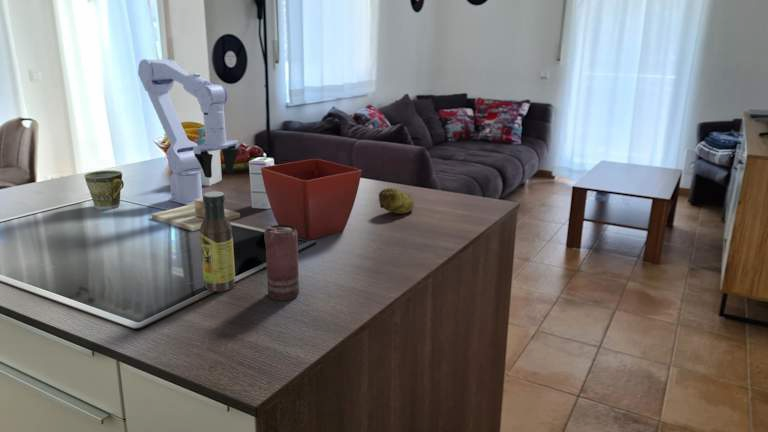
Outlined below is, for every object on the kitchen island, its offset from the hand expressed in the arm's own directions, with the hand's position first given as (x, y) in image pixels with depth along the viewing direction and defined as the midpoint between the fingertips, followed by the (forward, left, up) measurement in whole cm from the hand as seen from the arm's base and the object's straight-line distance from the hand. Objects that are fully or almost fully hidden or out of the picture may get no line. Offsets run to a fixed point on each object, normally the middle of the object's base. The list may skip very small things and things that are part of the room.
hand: (219, 174), depth 170 cm
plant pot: (+34, +2, -11) cm, 36 cm away
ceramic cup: (-27, -19, -11) cm, 34 cm away
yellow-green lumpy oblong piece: (+43, +29, -11) cm, 53 cm away
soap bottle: (-31, +18, -11) cm, 37 cm away
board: (+1, -10, -10) cm, 14 cm away
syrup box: (+7, +10, -11) cm, 16 cm away
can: (+57, -32, -11) cm, 67 cm away
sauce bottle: (+44, -37, -11) cm, 59 cm away
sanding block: (+7, -10, -9) cm, 15 cm away
